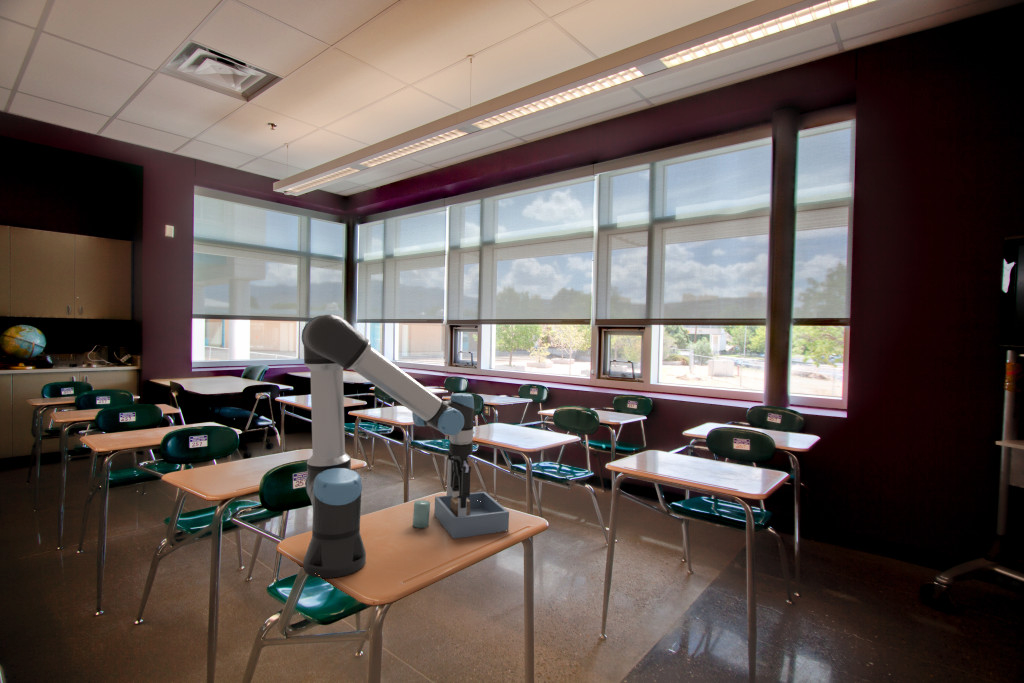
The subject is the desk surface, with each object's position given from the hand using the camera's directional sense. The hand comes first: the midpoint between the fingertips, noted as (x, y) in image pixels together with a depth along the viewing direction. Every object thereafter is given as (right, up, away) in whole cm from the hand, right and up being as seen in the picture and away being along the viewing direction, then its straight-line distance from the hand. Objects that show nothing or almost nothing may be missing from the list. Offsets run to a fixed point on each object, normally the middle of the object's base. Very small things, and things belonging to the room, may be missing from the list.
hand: (459, 514), depth 157 cm
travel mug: (-3, -3, +17) cm, 18 cm away
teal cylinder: (-12, -3, -2) cm, 12 cm away
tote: (+3, -3, +2) cm, 5 cm away
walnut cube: (0, 0, 0) cm, 1 cm away
